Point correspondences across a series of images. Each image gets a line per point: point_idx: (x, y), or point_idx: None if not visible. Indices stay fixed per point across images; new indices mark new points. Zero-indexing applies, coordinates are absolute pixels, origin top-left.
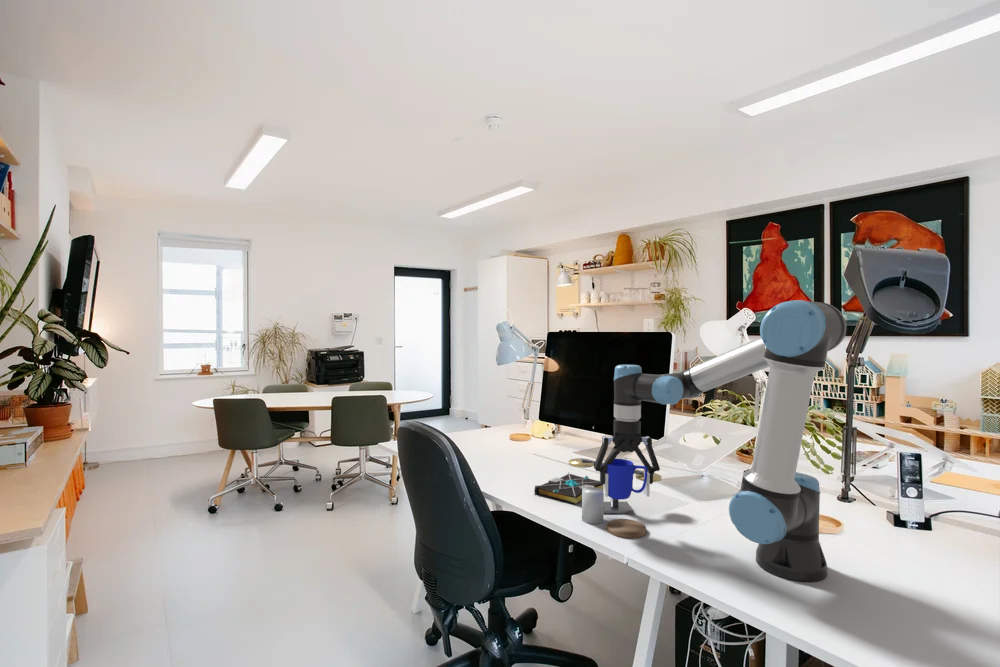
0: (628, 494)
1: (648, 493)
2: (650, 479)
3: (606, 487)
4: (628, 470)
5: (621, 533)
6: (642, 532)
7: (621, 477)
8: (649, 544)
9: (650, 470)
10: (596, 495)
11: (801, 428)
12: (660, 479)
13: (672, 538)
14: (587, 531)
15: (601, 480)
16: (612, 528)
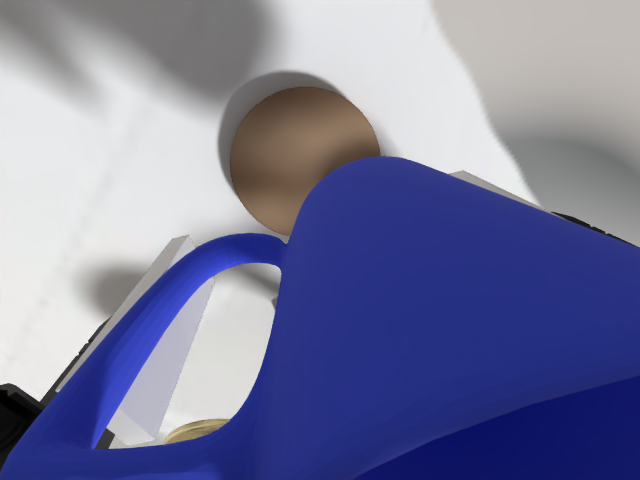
0: (312, 191)
1: (170, 247)
2: None
3: (500, 193)
4: (367, 315)
5: (330, 91)
6: (243, 120)
7: (448, 201)
8: (210, 28)
9: (12, 446)
10: None
11: None
12: (163, 444)
13: (123, 124)
14: (448, 128)
15: (585, 226)
16: (362, 137)
